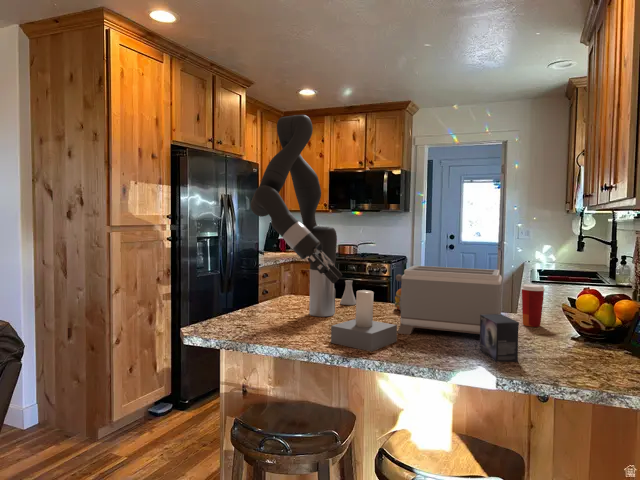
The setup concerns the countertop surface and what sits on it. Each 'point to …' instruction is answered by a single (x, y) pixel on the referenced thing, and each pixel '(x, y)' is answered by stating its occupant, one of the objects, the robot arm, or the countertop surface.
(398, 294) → the burger
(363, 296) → the beige piece
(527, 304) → the paper cup
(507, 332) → the small box
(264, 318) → the countertop surface
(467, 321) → the toaster
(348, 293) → the flask
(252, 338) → the countertop surface
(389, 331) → the plinth
